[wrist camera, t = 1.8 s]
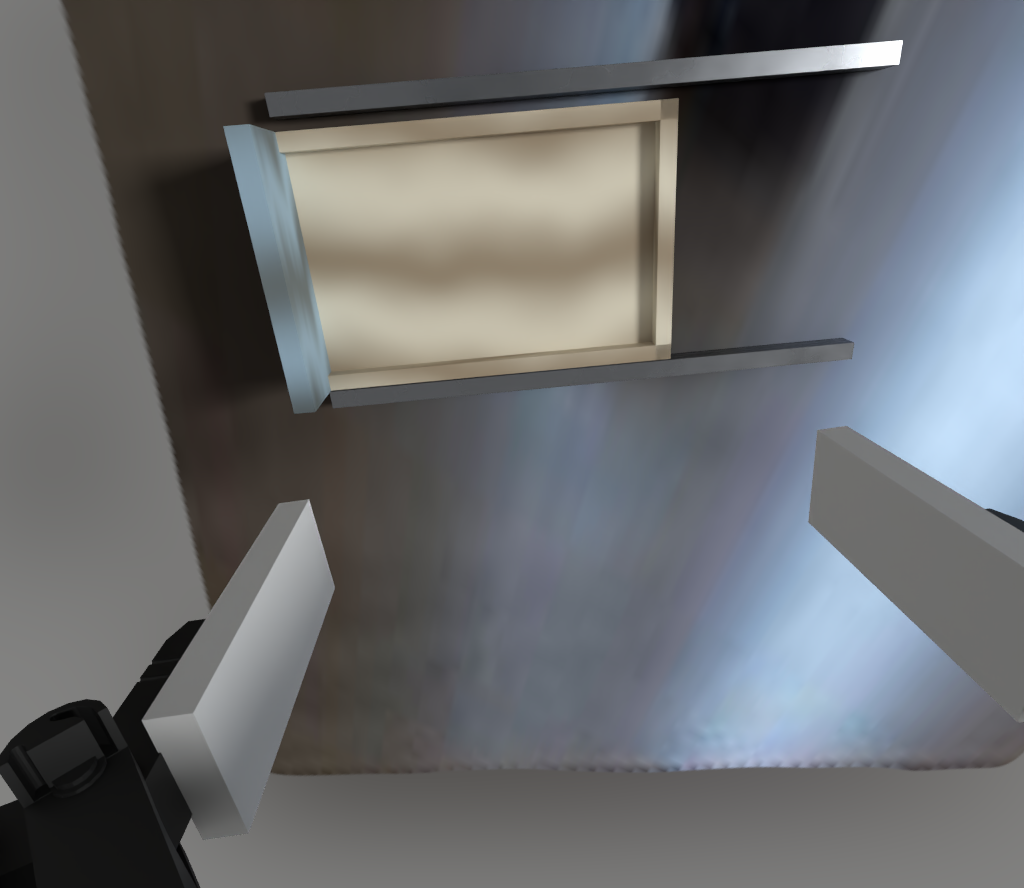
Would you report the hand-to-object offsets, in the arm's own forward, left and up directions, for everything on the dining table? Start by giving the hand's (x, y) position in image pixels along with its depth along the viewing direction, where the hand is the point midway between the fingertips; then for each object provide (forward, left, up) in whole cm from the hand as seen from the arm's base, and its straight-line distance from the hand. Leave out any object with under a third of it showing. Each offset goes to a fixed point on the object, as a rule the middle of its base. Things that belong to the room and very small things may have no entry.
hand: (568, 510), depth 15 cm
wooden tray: (-5, -2, -21) cm, 21 cm away
